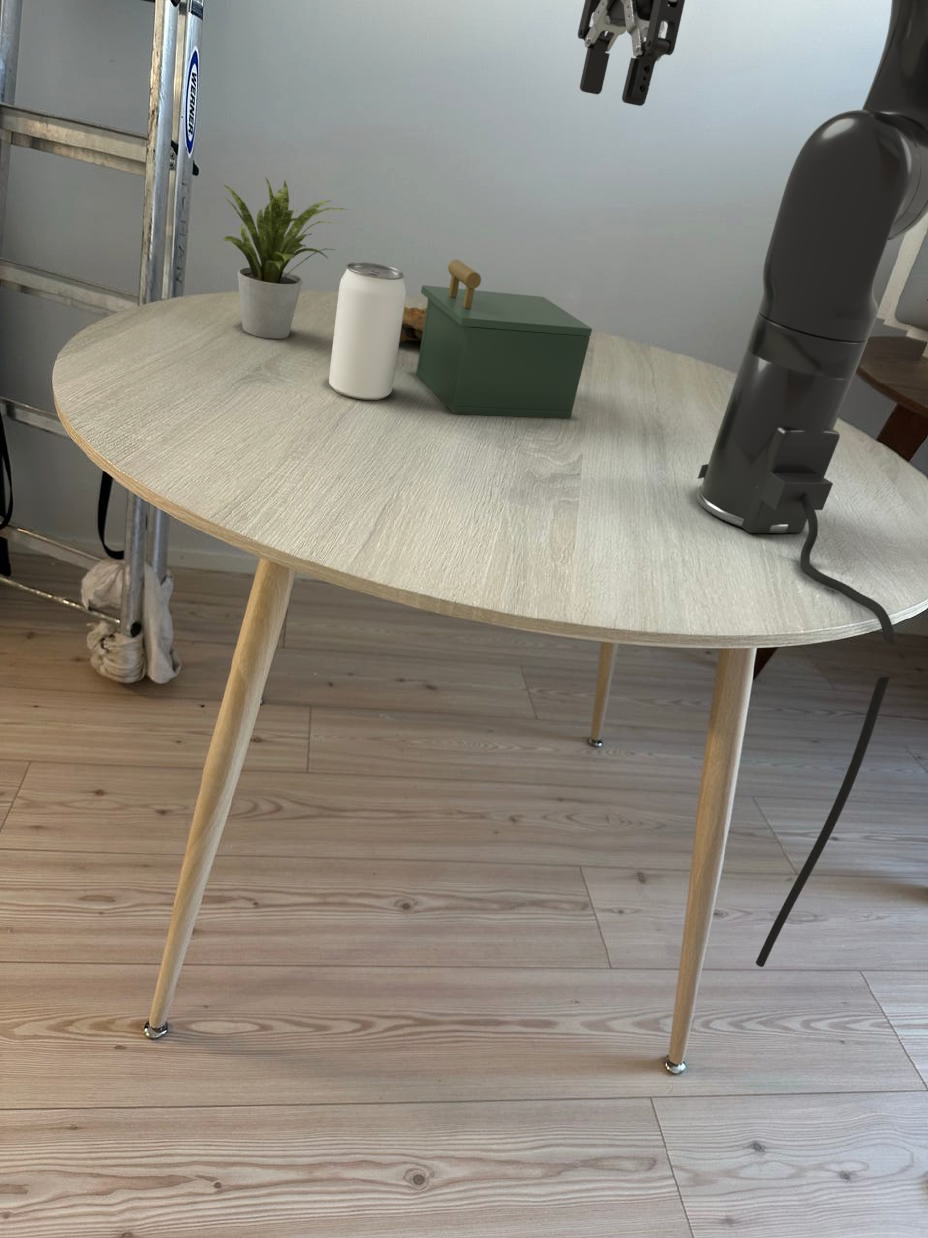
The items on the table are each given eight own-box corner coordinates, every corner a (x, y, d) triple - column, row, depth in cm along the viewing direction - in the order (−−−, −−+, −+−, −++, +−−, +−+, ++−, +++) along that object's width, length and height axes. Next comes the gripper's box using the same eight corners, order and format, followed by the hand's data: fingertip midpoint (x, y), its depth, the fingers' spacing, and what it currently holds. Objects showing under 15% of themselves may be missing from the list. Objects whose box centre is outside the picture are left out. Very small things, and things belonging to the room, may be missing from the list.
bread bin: (453, 413, 100) (469, 327, 95) (415, 374, 109) (428, 293, 104) (570, 418, 105) (590, 336, 101) (525, 380, 114) (542, 304, 110)
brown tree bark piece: (407, 363, 113) (507, 364, 122) (414, 328, 111) (516, 332, 120) (357, 326, 120) (456, 330, 129) (364, 292, 118) (463, 299, 127)
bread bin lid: (460, 326, 95) (469, 279, 93) (420, 292, 104) (427, 249, 102) (590, 336, 101) (601, 292, 99) (542, 303, 110) (550, 263, 107)
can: (396, 387, 104) (413, 270, 98) (385, 405, 98) (403, 283, 92) (335, 374, 104) (349, 256, 98) (321, 392, 98) (335, 268, 92)
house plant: (356, 356, 110) (375, 201, 102) (235, 354, 103) (246, 188, 95) (307, 317, 120) (322, 174, 112) (195, 313, 113) (201, 159, 105)
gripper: (582, -111, 92) (544, 83, 100) (663, -118, 81) (613, 101, 89) (649, -92, 95) (607, 95, 103) (735, -96, 84) (681, 114, 92)
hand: (610, 98), depth 96 cm, fingers open, 8 cm apart
